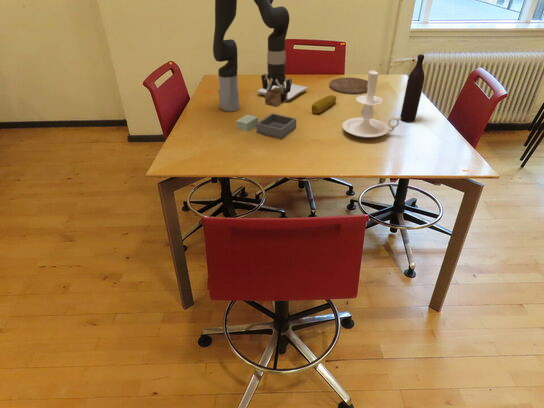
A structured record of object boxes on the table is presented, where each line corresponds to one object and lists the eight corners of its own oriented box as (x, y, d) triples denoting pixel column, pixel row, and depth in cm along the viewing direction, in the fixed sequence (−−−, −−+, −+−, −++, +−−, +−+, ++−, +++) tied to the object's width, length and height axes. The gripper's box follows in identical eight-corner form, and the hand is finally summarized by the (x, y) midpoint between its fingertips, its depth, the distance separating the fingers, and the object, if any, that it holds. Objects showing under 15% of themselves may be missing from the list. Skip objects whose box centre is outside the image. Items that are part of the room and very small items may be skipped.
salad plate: (308, 92, 216) (308, 86, 214) (289, 104, 202) (289, 97, 200) (276, 85, 226) (276, 80, 224) (256, 96, 211) (256, 90, 209)
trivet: (376, 95, 212) (376, 91, 211) (331, 95, 213) (332, 91, 212) (367, 80, 233) (368, 77, 232) (327, 80, 233) (327, 77, 232)
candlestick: (398, 146, 162) (412, 80, 145) (340, 141, 166) (347, 76, 149) (396, 126, 178) (408, 65, 161) (342, 122, 182) (349, 62, 166)
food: (319, 116, 188) (320, 104, 185) (309, 114, 191) (309, 102, 187) (338, 103, 202) (339, 92, 199) (328, 101, 205) (329, 90, 201)
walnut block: (265, 104, 166) (264, 93, 163) (275, 98, 172) (275, 87, 169) (276, 107, 163) (276, 95, 160) (287, 100, 169) (287, 89, 166)
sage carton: (236, 128, 177) (236, 120, 175) (248, 122, 183) (247, 114, 181) (247, 131, 175) (246, 123, 172) (258, 124, 181) (258, 117, 178)
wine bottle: (416, 118, 185) (430, 54, 168) (413, 123, 180) (428, 58, 162) (401, 115, 188) (414, 52, 170) (398, 121, 182) (411, 56, 165)
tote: (256, 132, 173) (256, 123, 170) (272, 121, 183) (272, 113, 180) (281, 139, 167) (281, 129, 165) (296, 127, 177) (296, 118, 175)
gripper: (256, 60, 157) (257, 100, 167) (287, 66, 151) (286, 106, 161) (266, 56, 162) (266, 95, 172) (296, 61, 157) (294, 100, 166)
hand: (276, 100), depth 167 cm, fingers closed on walnut block, 6 cm apart
